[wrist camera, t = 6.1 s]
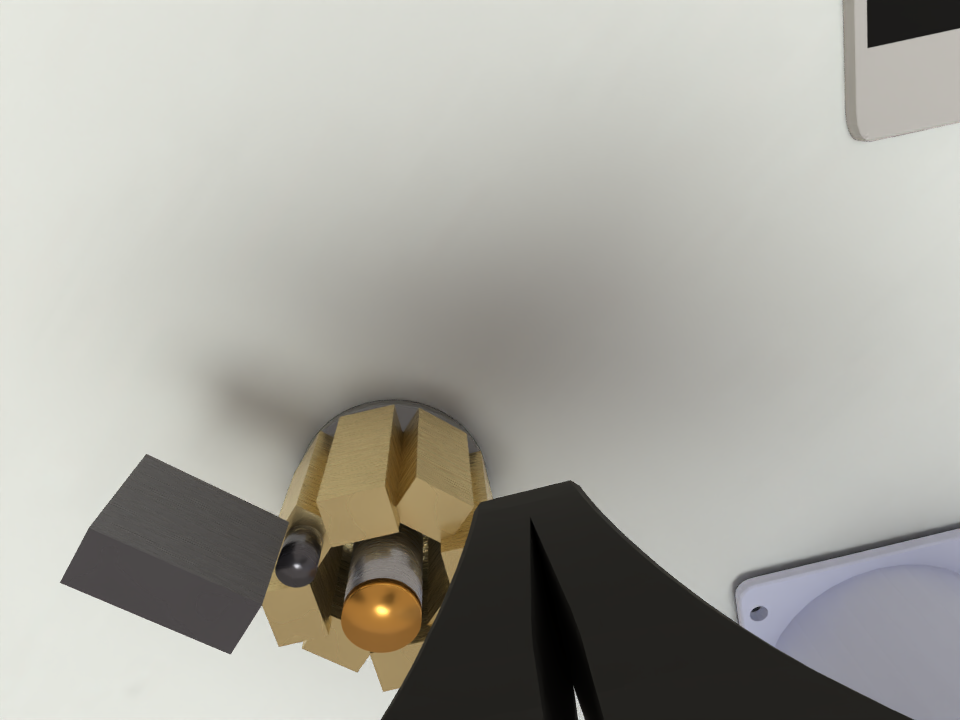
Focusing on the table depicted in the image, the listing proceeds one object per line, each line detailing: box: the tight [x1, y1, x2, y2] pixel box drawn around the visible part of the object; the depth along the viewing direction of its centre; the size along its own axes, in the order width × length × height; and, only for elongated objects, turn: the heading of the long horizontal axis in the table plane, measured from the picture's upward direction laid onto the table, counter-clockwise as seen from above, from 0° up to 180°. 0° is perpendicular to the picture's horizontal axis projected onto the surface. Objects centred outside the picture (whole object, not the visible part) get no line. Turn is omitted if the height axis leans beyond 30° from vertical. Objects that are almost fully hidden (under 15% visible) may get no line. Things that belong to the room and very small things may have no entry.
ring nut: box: [60, 404, 493, 692], centre depth 16 cm, size 8×5×6 cm, turn 58°
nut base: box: [303, 400, 488, 653], centre depth 17 cm, size 5×5×5 cm
